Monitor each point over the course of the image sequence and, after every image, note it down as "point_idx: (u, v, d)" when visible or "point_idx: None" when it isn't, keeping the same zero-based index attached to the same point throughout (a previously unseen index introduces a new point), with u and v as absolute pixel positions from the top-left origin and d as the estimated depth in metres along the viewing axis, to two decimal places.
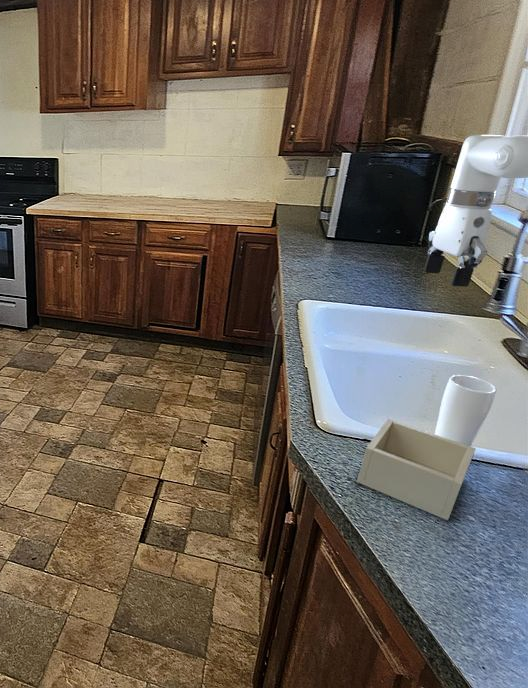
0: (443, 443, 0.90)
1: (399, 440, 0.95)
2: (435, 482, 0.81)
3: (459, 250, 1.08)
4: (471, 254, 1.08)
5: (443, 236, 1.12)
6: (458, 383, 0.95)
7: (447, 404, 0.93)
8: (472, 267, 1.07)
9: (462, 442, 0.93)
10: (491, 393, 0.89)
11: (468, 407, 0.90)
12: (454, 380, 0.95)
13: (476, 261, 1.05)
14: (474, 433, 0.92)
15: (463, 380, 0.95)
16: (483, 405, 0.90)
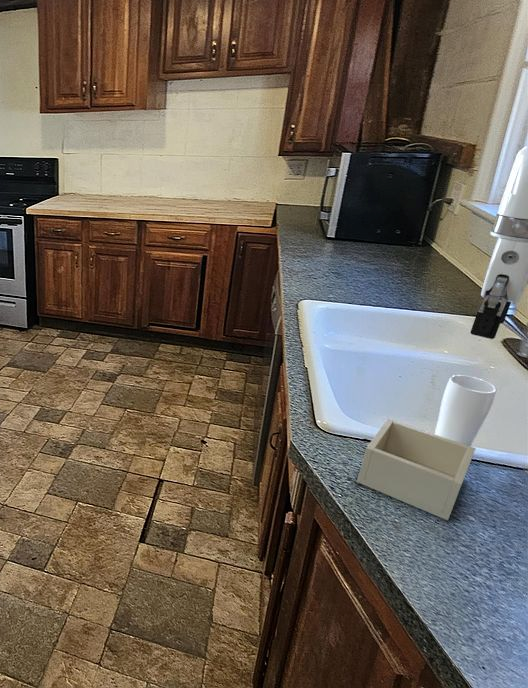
0: (443, 443, 0.90)
1: (399, 440, 0.95)
2: (435, 482, 0.81)
3: (483, 290, 0.85)
4: (500, 298, 0.84)
5: None
6: (458, 383, 0.95)
7: (447, 404, 0.93)
8: (493, 314, 0.84)
9: (462, 442, 0.93)
10: (491, 393, 0.89)
11: (468, 407, 0.90)
12: (454, 380, 0.95)
13: (490, 305, 0.82)
14: (474, 433, 0.92)
15: (463, 380, 0.95)
16: (483, 405, 0.90)
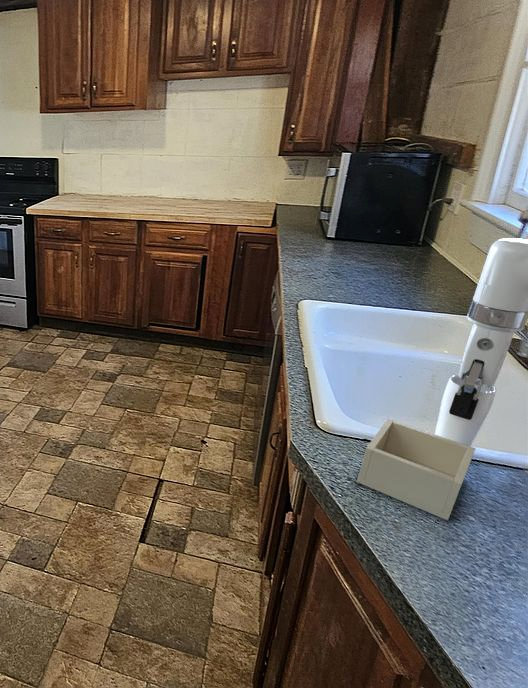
0: (443, 443, 0.90)
1: (399, 440, 0.95)
2: (435, 482, 0.81)
3: (460, 372, 0.89)
4: (476, 383, 0.88)
5: None
6: (458, 383, 0.95)
7: (447, 404, 0.93)
8: (470, 398, 0.89)
9: (462, 442, 0.93)
10: (491, 393, 0.89)
11: None
12: (454, 380, 0.95)
13: (466, 391, 0.87)
14: (474, 433, 0.92)
15: None
16: (483, 405, 0.90)
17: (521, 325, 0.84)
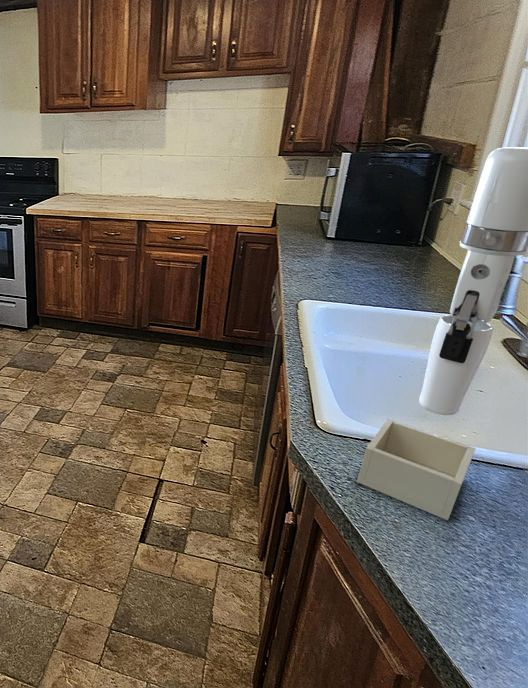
0: (443, 443, 0.90)
1: (399, 440, 0.95)
2: (435, 482, 0.81)
3: (452, 307, 0.77)
4: (470, 319, 0.76)
5: None
6: None
7: (437, 347, 0.81)
8: (462, 337, 0.77)
9: (454, 391, 0.81)
10: (487, 331, 0.77)
11: None
12: (445, 321, 0.83)
13: (458, 328, 0.75)
14: (467, 379, 0.80)
15: None
16: (478, 346, 0.78)
17: (522, 248, 0.72)
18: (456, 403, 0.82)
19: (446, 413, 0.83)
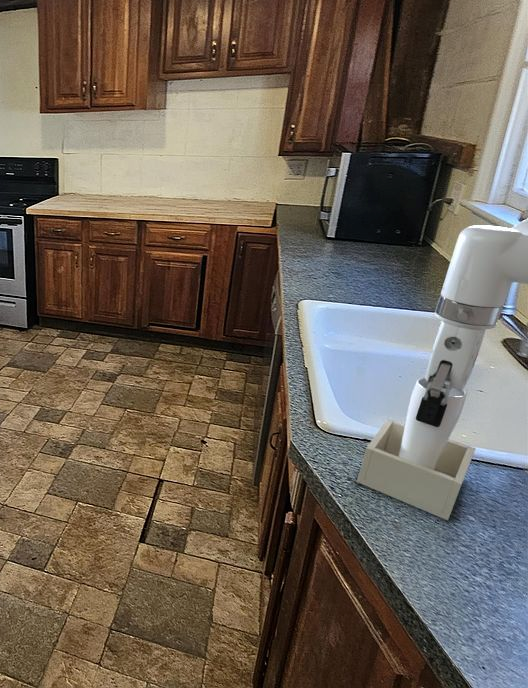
0: None
1: (399, 440, 0.95)
2: (435, 482, 0.81)
3: (427, 374, 0.80)
4: (444, 386, 0.79)
5: None
6: (427, 386, 0.87)
7: (414, 409, 0.85)
8: (437, 403, 0.80)
9: (430, 451, 0.85)
10: (461, 397, 0.80)
11: None
12: (422, 383, 0.86)
13: (432, 396, 0.79)
14: (443, 441, 0.84)
15: None
16: (452, 411, 0.81)
17: (492, 322, 0.75)
18: (432, 462, 0.86)
19: None
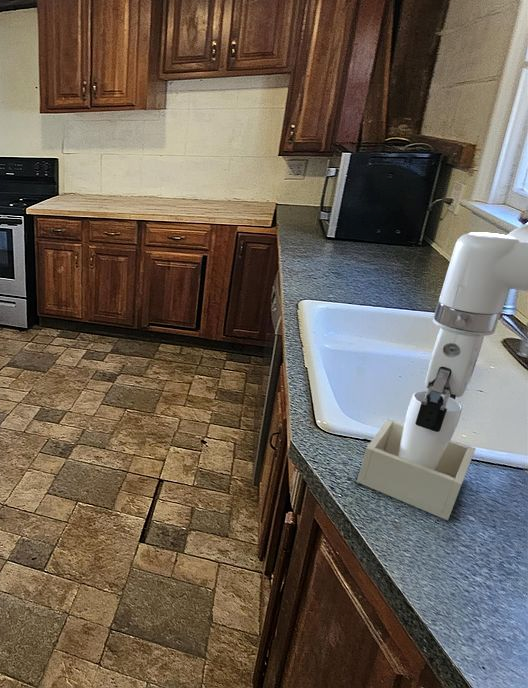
0: None
1: (399, 440, 0.95)
2: (435, 482, 0.81)
3: (426, 380, 0.81)
4: (444, 390, 0.79)
5: None
6: (423, 400, 0.88)
7: (410, 423, 0.85)
8: (437, 407, 0.79)
9: (426, 464, 0.85)
10: (456, 412, 0.81)
11: None
12: (418, 396, 0.87)
13: (432, 400, 0.78)
14: (439, 454, 0.85)
15: None
16: (448, 425, 0.82)
17: (491, 328, 0.76)
18: None
19: None
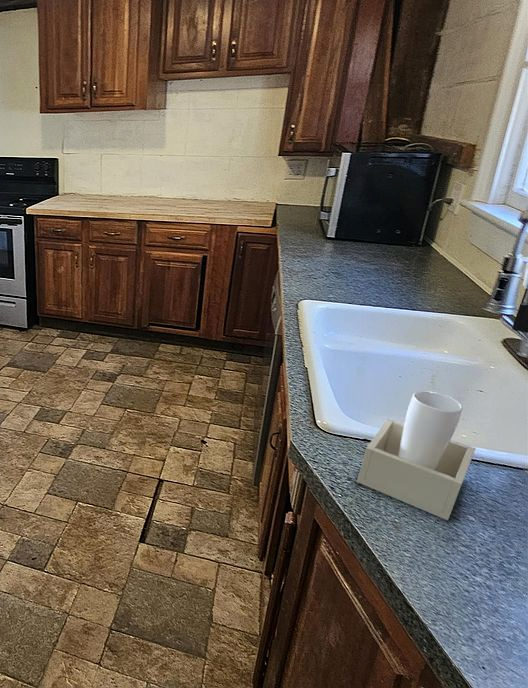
0: None
1: (399, 440, 0.95)
2: (435, 482, 0.81)
3: (526, 279, 0.75)
4: None
5: None
6: (423, 400, 0.88)
7: (410, 423, 0.85)
8: None
9: (426, 464, 0.85)
10: (456, 412, 0.81)
11: (432, 427, 0.83)
12: (418, 396, 0.87)
13: None
14: (439, 454, 0.85)
15: (428, 396, 0.87)
16: (448, 425, 0.82)
17: None
18: None
19: None
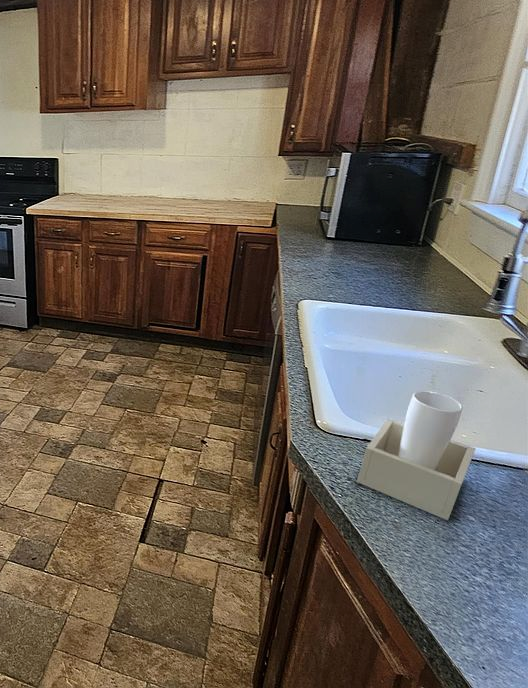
0: None
1: (399, 440, 0.95)
2: (435, 482, 0.81)
3: None
4: None
5: None
6: (423, 400, 0.88)
7: (410, 423, 0.85)
8: None
9: (426, 464, 0.85)
10: (456, 412, 0.81)
11: (432, 427, 0.83)
12: (418, 396, 0.87)
13: None
14: (439, 454, 0.85)
15: (428, 396, 0.87)
16: (448, 425, 0.82)
17: None
18: None
19: None
